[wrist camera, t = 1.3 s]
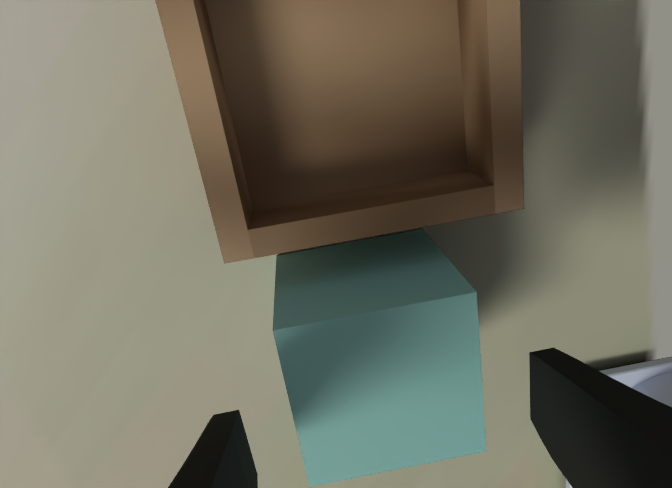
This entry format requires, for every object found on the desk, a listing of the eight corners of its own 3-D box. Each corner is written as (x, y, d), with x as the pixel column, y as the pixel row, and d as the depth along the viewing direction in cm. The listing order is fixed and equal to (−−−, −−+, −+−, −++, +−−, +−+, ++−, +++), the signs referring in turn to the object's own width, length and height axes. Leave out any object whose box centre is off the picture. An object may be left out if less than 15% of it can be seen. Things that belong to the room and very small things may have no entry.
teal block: (434, 352, 18) (486, 451, 13) (303, 377, 18) (309, 487, 13) (422, 228, 16) (476, 291, 12) (276, 254, 16) (273, 330, 11)
